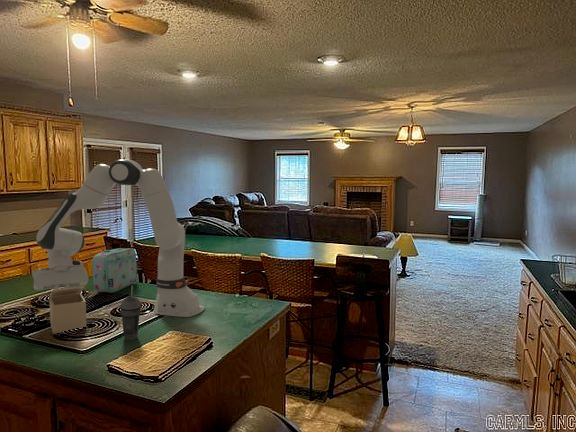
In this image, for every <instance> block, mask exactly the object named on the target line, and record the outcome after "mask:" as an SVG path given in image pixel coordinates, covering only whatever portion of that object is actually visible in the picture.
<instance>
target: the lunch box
mask: <svg viewBox="0 0 576 432" xmlns="http://www.w3.org/2000/svg"><path fill="white" fill-rule="evenodd" d="M91 275H92V284H93V290H94V291H95V292H97V293H110V294H111V293H116V292H119V291H120V290H123V289H125V288H127V287H129V286H132V285H133V284H134V283H135V282H136V281H137V276H138V267H137V253H136V250H135V248H132V247H130V248H121V247H119V248H113V249H104V250H103V251H101V252H99V253H96V254H95V255H94V256H93V257H92V259H91Z"/></svg>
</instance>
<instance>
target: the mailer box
mask: <svg viewBox="0 0 576 432" xmlns="http://www.w3.org/2000/svg"><path fill="white" fill-rule="evenodd" d="M49 323H50V324H51V325H50V324H49V325H50V329H51V332H52V334H53V336H55V335H57V334H56V333H60V332H63V331H67V330H72V329H76V328H83V327H86V328H87V301H86V299H85V298H84V296H83V294H82V292H80V293H77V294H72V295H64V296H56V297H49ZM54 334H55V335H54Z"/></svg>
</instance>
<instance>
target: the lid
mask: <svg viewBox="0 0 576 432" xmlns="http://www.w3.org/2000/svg"><path fill="white" fill-rule="evenodd" d="M84 289H85V285H81V286H71V287H69V288H65V287H62V288H59V289H55V288H53V289H52V291H51V293H50V297H56V296H64V295H72V294H80V293H82V291H83V290H84ZM50 297H49V298H50Z"/></svg>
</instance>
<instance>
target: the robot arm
mask: <svg viewBox="0 0 576 432" xmlns="http://www.w3.org/2000/svg"><path fill="white" fill-rule="evenodd" d="M116 185H121V186H137V187H138V188H139V190H140V192H141V193H140V194H141V196H142V198H143V201H144V203H145V206H146V209H147V212H148V216H149V218H150V224H151V228H152V232H153V235H154V241H155V243H156V246H157V247H159V250H158V257H157V278H156V288H157V289H156V291H157V292H156V298H155V304H154V307H153V311H154V313H156V314H155V315H158V314H160V315H159V316H169V317H177V318H178V317H180V318H181V317H182V318H190V317H194V316H196V315H198V314H199V315H200V313H202V312H203V311H204V310H205V306H204V305H201V304H200V300H199V296H198V295H197V294H196V293H195V292H194V291H193V290H192V289H191V288H190V287H188V286H187V283H188V282H189V279H185V277H184V257H185V256H184V255H185V243H186V229H185V227H184V226H183V224H182V223H180V222H178V218H177V215H176V210H175V205H174V202H173V200H172V197H171V194H170V191H169V189H168V186H167V183H166V182H165V179H164V177H163V175H162V174H161V172H160V170H158V169H155V168H146V169H144V167H143V165H142V164H141V163H140V162H138V161H136V160H132V159H127V158H125V159H123V158H121V159H116V160H115V161H113V162H112V163H111V164H110V165H108V164H104V163H99V164H97V165H95V166H94V167H93V168H92V170H90V172H89V174H88V175H87V177H86V178H85V180H84V181H83V184H82V185H81V186H80V187H79V189H77V190H76V191H75V192H71V193H69V194H68V195H67V196H66V197H65V198H64V199H63V200H62V202H61V203H60V204H59V205H58V207H57V208H56V209H55V211H54V212H53V213H52V214H51V216H50V217H49V218H48V220H47V221H46V222H45V223H44V225H42V226H41V227H40V228H39V230H38V231H37V233H36V236H35V241H36V244H37V245H38V246H39V247H40V248H41V249H42V250H46V253H47V257H48V260H47V266H48V267H45V268H36V269H35V270H33V271H32V273H31V277H32V278H33V289H34V290H35V291H43V290H49V289H50V290H51V289H52V290H53V289H61V288H70V287H78V286H86V285H87V284H89V274H88V271H87V268H86V267H84V262H83V261H81V260H75V259H71V257H72V256H75V255H76V254H77V253H79V252H80V251H82V250H83V249H84V247H85V244H86V243H85V236H84V234H83V233H82V232H80V231H78V230H73V229H68V228H65V227H64V228H63V227H61V226H63V223H65V221H66V219H68V217H69V215H70V214H72V213H73V212H75V211H78V210H79V211H80V210H90V209H92V210H94V209H97V208H99V207H102V206H103V205H104V204H105V203H106V201H107V200H108V198H109V197H110V194H111V193H112V190H113V188H114V187H115V186H116Z"/></svg>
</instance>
